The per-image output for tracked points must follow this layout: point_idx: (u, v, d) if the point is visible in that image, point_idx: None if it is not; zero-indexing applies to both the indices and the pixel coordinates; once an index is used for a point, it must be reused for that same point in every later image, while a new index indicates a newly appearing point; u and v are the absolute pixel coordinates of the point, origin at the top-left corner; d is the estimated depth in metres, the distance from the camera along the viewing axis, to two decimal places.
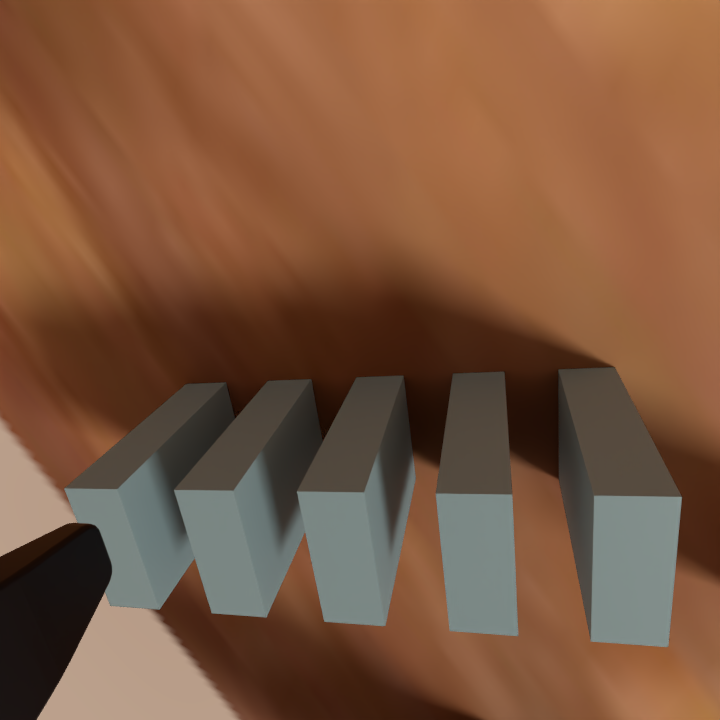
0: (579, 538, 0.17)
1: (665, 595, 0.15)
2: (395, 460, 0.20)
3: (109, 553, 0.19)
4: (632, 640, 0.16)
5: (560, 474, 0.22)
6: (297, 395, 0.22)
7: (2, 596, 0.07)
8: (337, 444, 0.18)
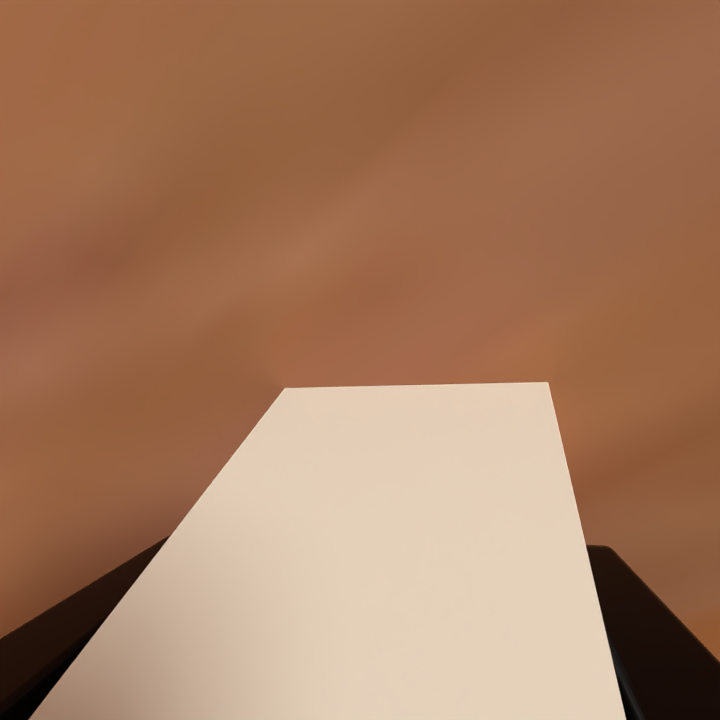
0: None
1: None
2: None
3: None
4: None
5: None
6: None
7: None
8: None
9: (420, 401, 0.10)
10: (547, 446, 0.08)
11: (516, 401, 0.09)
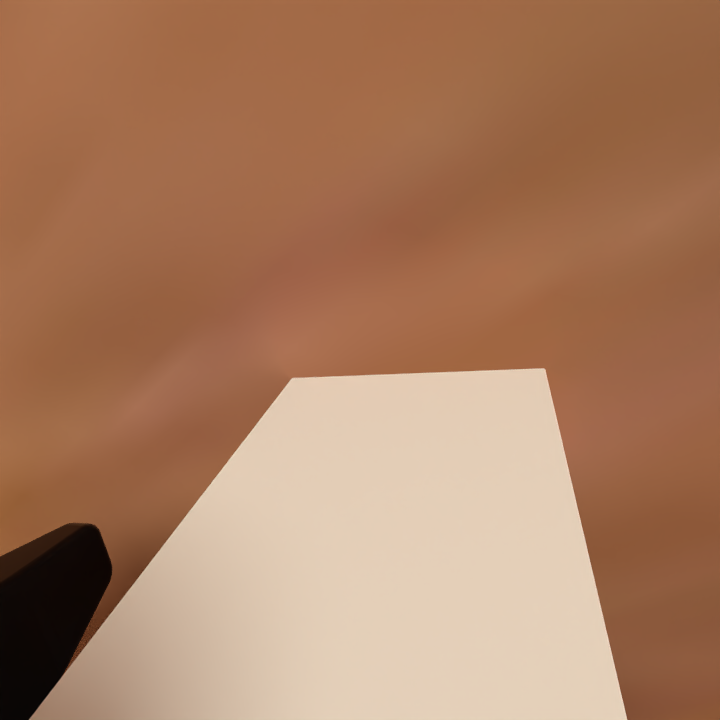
0: None
1: None
2: None
3: None
4: None
5: None
6: None
7: (2, 596, 0.07)
8: None
9: (422, 388, 0.10)
10: (543, 426, 0.08)
11: (513, 386, 0.10)
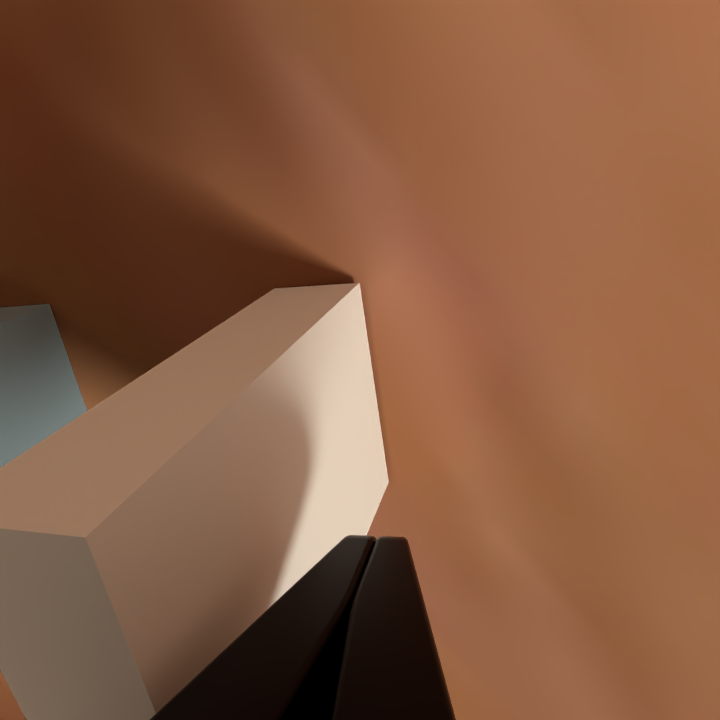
0: None
1: None
2: None
3: None
4: None
5: None
6: None
7: (341, 625, 0.06)
8: None
9: (368, 414, 0.12)
10: None
11: (377, 480, 0.13)
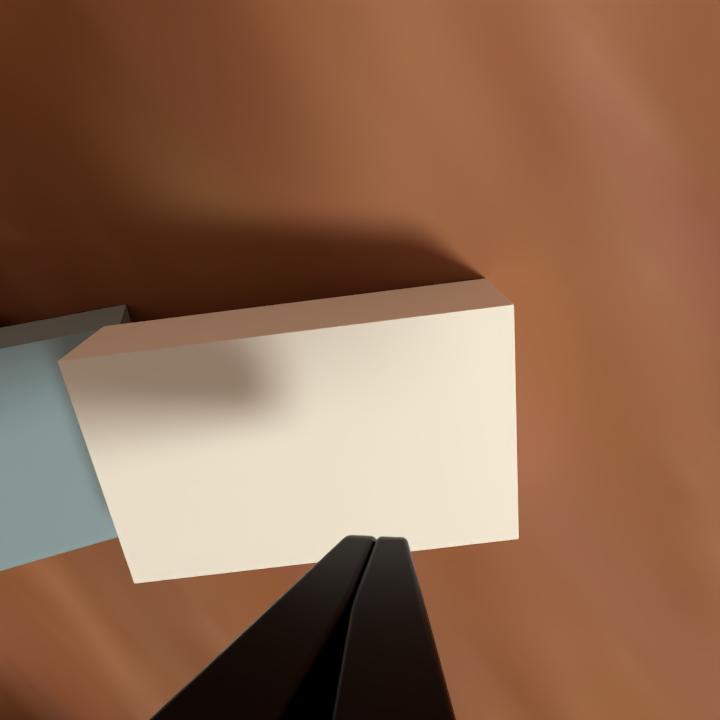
0: None
1: None
2: None
3: None
4: None
5: None
6: None
7: (341, 625, 0.06)
8: None
9: (481, 449, 0.11)
10: (411, 542, 0.11)
11: (481, 519, 0.11)
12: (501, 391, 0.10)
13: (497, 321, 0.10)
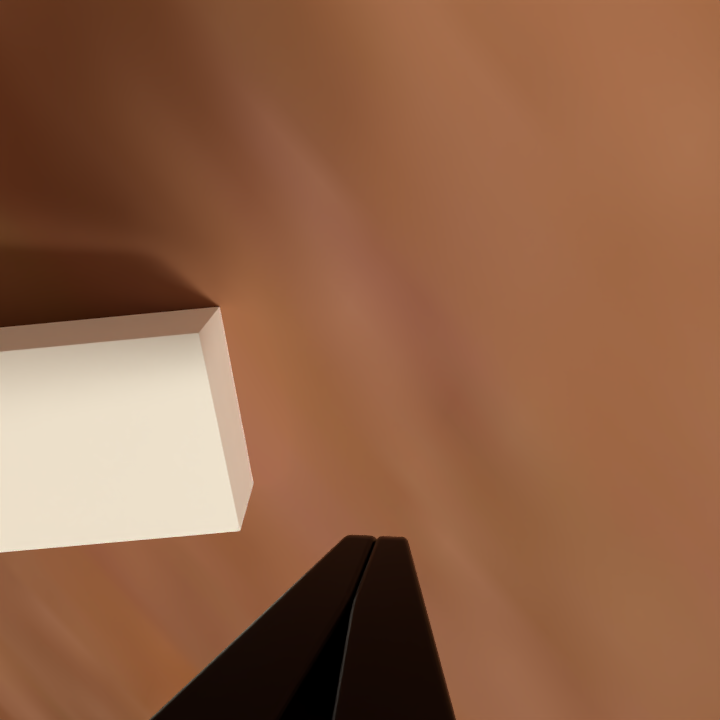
0: None
1: None
2: None
3: None
4: None
5: None
6: None
7: (341, 624, 0.06)
8: None
9: (193, 453, 0.12)
10: (147, 531, 0.13)
11: (204, 513, 0.13)
12: (201, 404, 0.12)
13: (187, 346, 0.12)
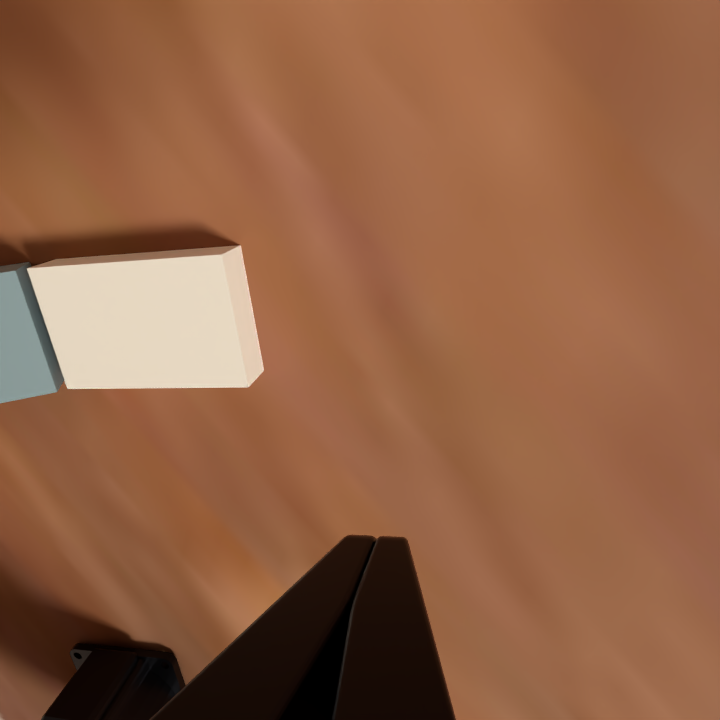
0: None
1: None
2: None
3: None
4: None
5: None
6: None
7: (341, 625, 0.06)
8: None
9: (220, 332, 0.20)
10: (194, 382, 0.21)
11: (227, 373, 0.21)
12: (224, 300, 0.19)
13: (215, 262, 0.19)
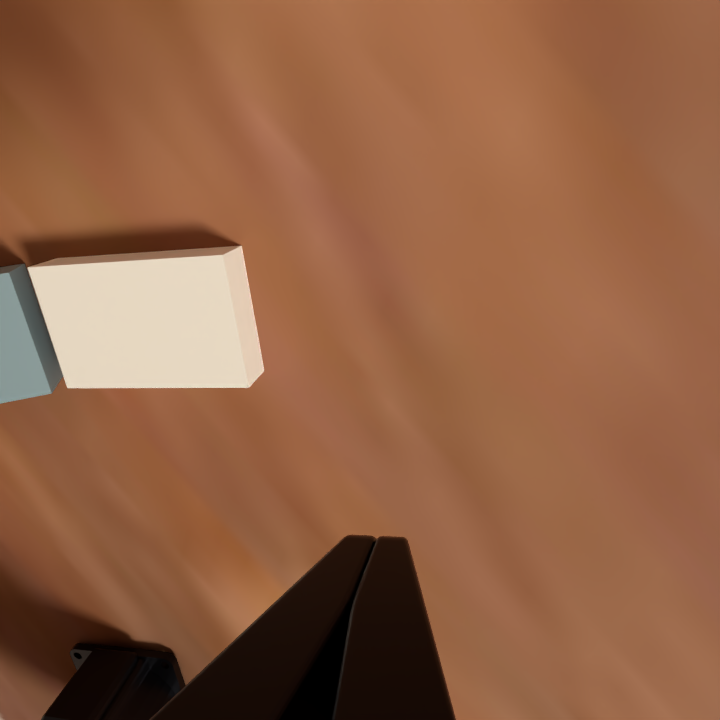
0: None
1: None
2: None
3: None
4: None
5: None
6: None
7: (341, 625, 0.06)
8: None
9: (220, 332, 0.20)
10: (195, 382, 0.21)
11: (227, 373, 0.21)
12: (225, 301, 0.19)
13: (217, 263, 0.19)
